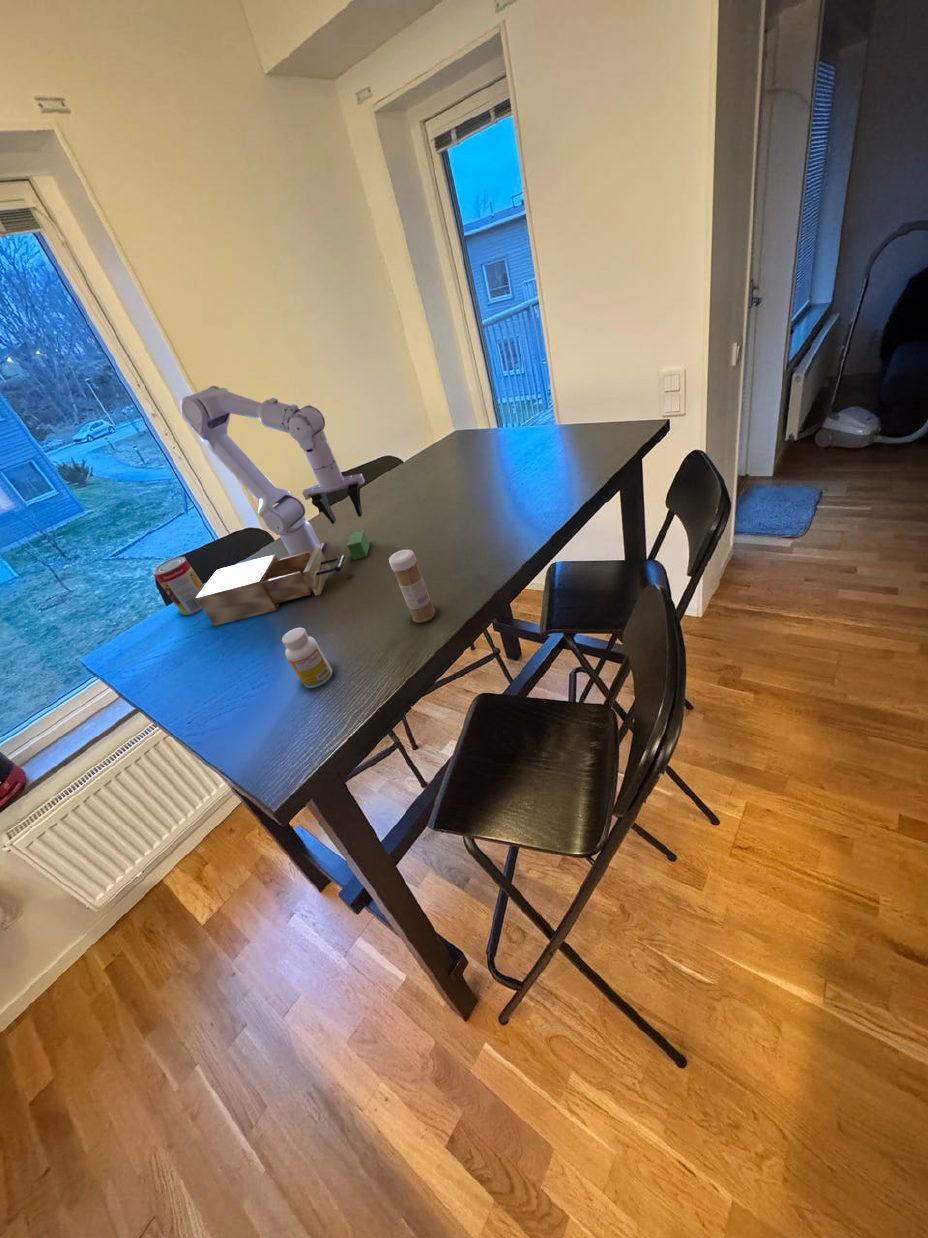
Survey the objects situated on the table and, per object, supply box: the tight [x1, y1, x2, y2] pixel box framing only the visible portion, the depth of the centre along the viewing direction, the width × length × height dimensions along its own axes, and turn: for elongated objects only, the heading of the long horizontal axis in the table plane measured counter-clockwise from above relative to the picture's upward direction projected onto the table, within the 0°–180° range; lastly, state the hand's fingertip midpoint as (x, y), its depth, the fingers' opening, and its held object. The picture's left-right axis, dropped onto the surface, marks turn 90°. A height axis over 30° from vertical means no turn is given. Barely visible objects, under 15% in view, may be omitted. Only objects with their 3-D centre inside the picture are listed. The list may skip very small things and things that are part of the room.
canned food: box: [151, 556, 205, 616], centre depth 119 cm, size 8×8×12 cm
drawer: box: [261, 547, 346, 604], centre depth 112 cm, size 20×12×6 cm, turn 92°
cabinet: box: [195, 553, 281, 627], centre depth 113 cm, size 15×13×8 cm
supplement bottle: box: [281, 627, 333, 689], centre depth 82 cm, size 5×5×10 cm
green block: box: [346, 529, 371, 561], centre depth 122 cm, size 7×3×4 cm, turn 2°
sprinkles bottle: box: [388, 549, 436, 624], centre depth 88 cm, size 5×5×14 cm
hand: (347, 518), depth 118 cm, fingers open, 6 cm apart
